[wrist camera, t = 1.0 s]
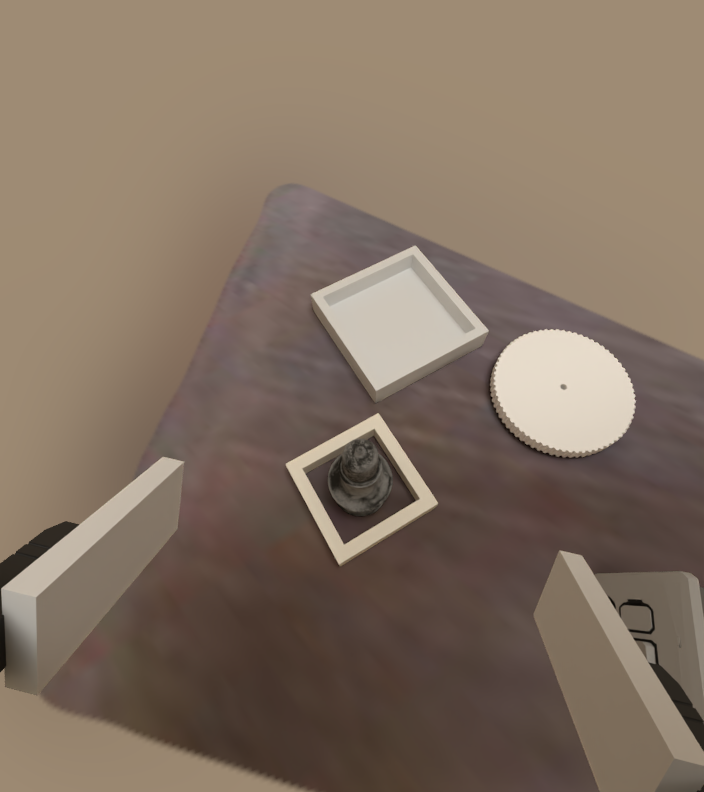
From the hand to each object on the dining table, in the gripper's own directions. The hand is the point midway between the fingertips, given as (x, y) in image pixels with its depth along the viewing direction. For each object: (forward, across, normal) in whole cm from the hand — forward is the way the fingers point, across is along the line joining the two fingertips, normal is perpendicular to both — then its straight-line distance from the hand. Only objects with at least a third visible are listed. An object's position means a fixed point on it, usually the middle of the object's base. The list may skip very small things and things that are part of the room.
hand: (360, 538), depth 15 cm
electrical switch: (+20, +25, -16) cm, 36 cm away
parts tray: (+38, 0, +2) cm, 39 cm away
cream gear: (+35, +18, -1) cm, 39 cm away
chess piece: (+26, 0, -12) cm, 29 cm away
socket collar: (+26, 0, -12) cm, 28 cm away
